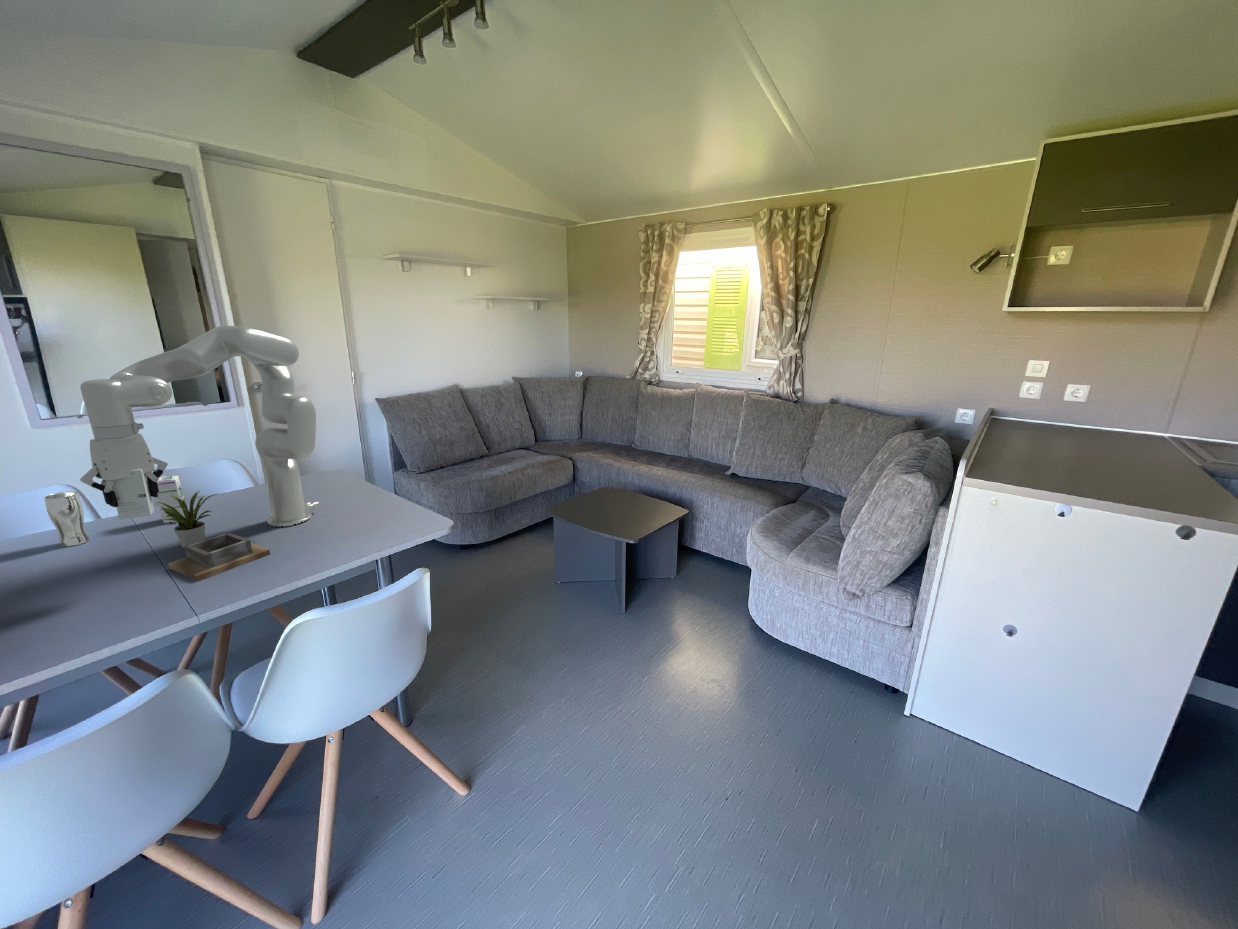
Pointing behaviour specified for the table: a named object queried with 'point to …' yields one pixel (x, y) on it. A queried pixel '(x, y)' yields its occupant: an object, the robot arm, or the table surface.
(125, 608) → the table surface
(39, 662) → the table surface
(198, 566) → the socket
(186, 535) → the house plant
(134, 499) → the skincare box
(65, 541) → the beer glass
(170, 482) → the syrup box
